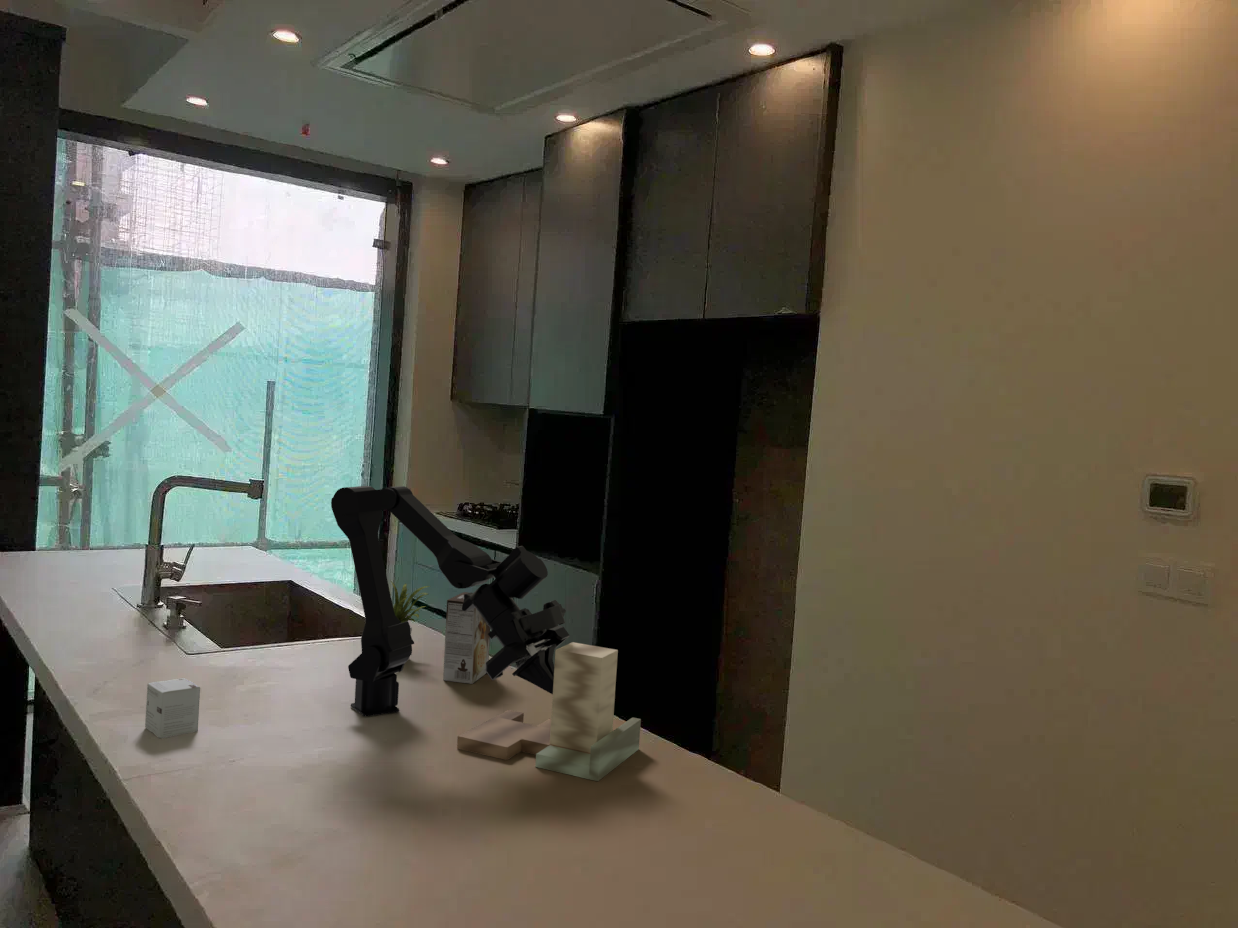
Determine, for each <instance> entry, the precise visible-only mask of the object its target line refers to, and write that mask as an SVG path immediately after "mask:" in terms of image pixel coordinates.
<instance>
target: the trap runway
mask: <svg viewBox="0 0 1238 928" xmlns="http://www.w3.org/2000/svg"><path fill="white" fill-rule="evenodd" d="M524 713H525V712H521V711H517V710H511V709H507V710H506V711H503V712H502V713H500V714H497V715H495V716H493V717H492V718H490V719H488V720H486V721H484V722H482V723H479V724H478V725H476V726H475V727H473V728H471V729H469V730H467V731H464V732H462V733H460V734H459V735H458V736H457V744H456V749H457V750H460V751H465V752H471V753H474V754H475V753H476V754H479V755H483V756H488V757H492V758H497V759H500V760H501V759H502V760H504V761H508V760H509V759H511V758H513V757H515V756H516V755H518V754H520V752H523V753H526V754H532V755H535V764H534V765H535V766H534V767H536V768H539V769H544V770H547V771H548V770H549V771H552V772H557V773H559V774H560V773H561V774H564V775H569V776H574V777H577V778H582V779H587V780H591V781H595V782H600V780H602V779H603V778H604V777H606V776H607V775H608V774H609V773H611V772H612V771H613V770H614V769H616V768H617V767H618V766H619V765H621V764H622V763H623V762H625V761H626V760H627V759H628V758H630V757H631V756H632V755H633V754H635V753H636V752H637V751H639V750H640V740H641V724H642V719H641V718H637V717H631V718H629V719H628V720H627V721H625V722H624V723H622V724H620V726H618V727H616V728H615V729H614V730H613V731H612V732H611V733H609V734H608V735H606V736H605V737H603V738H602V739H601V740H599V741H598V742H596V743H595V744H593V745H592V746H591V753H588V752H584V751H579V750H575V749H570V748H566V747H561V746H557V745H552V744H550V731H551V718H548V719H546V720H544V721H543V722H541V723H538V724H537V725H536V724H533V723H532V724H531V723H526V722H524V719H525V718H524V715H525V714H524Z"/></svg>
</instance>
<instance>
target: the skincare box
mask: <svg viewBox="0 0 1238 928" xmlns="http://www.w3.org/2000/svg"><path fill="white" fill-rule="evenodd" d="M200 699H201V687H200V686H199V685H197V684H196V683H195V682H193V681H191V680H189V679H187V678H185V677H181V678H174V679H168V680H160V681H152V682H148V683H147V685H146V702H145V703H146V705H145V718H144V720H145V723H144V728H145V729H147V730H148V731H149V732H151V733H152V734H153V735H155V736H156V737H157V739H165V738H166V739H167V738H170V737H176V736H179V735H186V734H191V733H195V732H198V731H199V718H200Z"/></svg>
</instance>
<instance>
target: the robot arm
mask: <svg viewBox="0 0 1238 928" xmlns="http://www.w3.org/2000/svg"><path fill="white" fill-rule="evenodd" d="M330 505H331V506H330V507H331V510H332V511H331V512H332V513H333V516H334V519H335V522H336V524H337V526H338V528H339V529H340V530H341V531H342V533H343V534H344V535H345V536H346V538H347V539H348V541H349V546H350V550H351V554H352V560H353V565H354V570H355V575H356V579H357V584H358V585H357V586H358V589H359V594H360V600H361V603H362V609H363V613H364V618H365V623H364V627H363V631H362V633H361V637H360V643H361V644H360V646H361V653H360V654H359V655H358V656H357V657H356V658H354V660H352V662H350V664H349V665H348V666H347V669H348V672H349V677H350V678H351V679H354V680H355V689H354V690H355V691H354V702H353V703H350V708H352V709H353V710H354V711H356V712H357V713H359V715H360V716H363V717H370V716H371V717H373V716H379V715H386V714H393V713H398V712H400V708H399V707H398V704H399V691H400V687H399V686H400V682H398V679H397V678H398V675H397V673H400V672H403V669H404V666H405V664H406V663H407V662H408V661H409V659H410V657H411V656H412V655H413V654H412V653H413V645H415V641H414V640H413V638H412V632H411V633H410V627H411V625H410V622H409V620H408V621H407V622H403V623H401V622H400V620H399V619H398V618H397V617H396V616H395V613H394V610H393V607H394V604H393V605H392V603H393V600H391V599H392V594H391V592H390V586H389V583H388V577H387V576H388V575H387V573H386V567H385V563H384V558H383V557H384V556H383V553H382V548H381V543H380V539H379V530H380V527H381V523H382V520H383V511H384V510H385V511H386V510H387V511H389V512H390V513H391V514H392V515H393V516H394V517H395V518H396V519H397V520H398V521H399V522H400V523H401V524H402V525H403V526H404V527H405V528H406V529H408V531H410V532H409V533H411V534H412V535H414V536H415V537H416V539H417V540H418V541H420V543H421V544H423V545H424V547H426V548H427V549H428V551H429V552H431V553H432V554H433V556H434V557H435V559H436V561H437V565H438V569H439V571H441V573H442V574H443V576H444V577H445V578H446V580H447V582H448V583H449V584H450V585H451V586H453V588H456V589H468V588H471V587H475V586H479V585H480V586H479V587H478V588H477V589H476V590H474V592H472V591H471V592H468V593H467V594H464V602H463V605H462V610H463V611H467V610H470V609H473V608H476V609H477V610H478V612H479V613H480V615H481V616H482V617H483V619H484V620H485V622H486V623H487V624H488V626H489V627H490V633H488V635H489V636H490V640H493V639H495V638H497V640H498V641H499V644H501V646H502V647H501V649H500V650H498V651H497V652H496V653H495V654H494V655H493V656H491V658H489V660H488V661H487V662H486V669H485V671H486V674H487V675H488V677H489V678H490V679H491V681H494V680H496V679H499V678H501V677H502V676H503V675H504V672H505V670H506V669H507V668H508V667H510V665H513V664H515V665H514V666H515V667H516V669H515V670H514V671H513V673H511V674H512V676H513V677H518V678H520V679H523V680H524V681H526V682H529V683H531V684H532V685H535V686H536V687H538V688H540V689H541V690H543V691H545V692H547V693H549V694H551V695H552V696H553V683H554V667H555V662H554V655H555V651H556V649H558V648H559V646H561V645H562V643H564V642H565V641H566V640H568V638H570V636H571V635H570V634H569V632H568V631H567V630H566V628H565V627H564V626H562V625H564V624H566V621H565V618H564V616H565V614H566V612H567V611H566V608H564V607H563V605H562V604H561V603H560V602H558V601H557V599H554V600H550V601H548V602H545V603H543V607H542V610H540V611H537V612H534V613H532V611H530V609H528V608H525V607H524V608H522V609H521V608H520V606H518V604H517V602H516V601H515V600H514V598H515V599H519V600H522V599H524V598H525V597H526V596H527V595H529V593H530V592H532V590H534V589H535V588H536V587H537V586H538V585H540V584H541V582H543V581H544V580H545V579H546V578H547V577H548V573H549V572H548V569H547V567H546V564H545V562H544V561H543V560H542V559H541V558H539V557H538V556H537V555H535V554H534V553H532V552H531V551H529V550H527V549H526V548H525V547H524V546H523V545H520V546H515V547H514V548H513V549H512V550H511V552H510V553H509V555H508V556H507V557H505V559H503V560H502V561H501V560H497V559H494V558H492V557H491V555H489V553H487V552H486V551H485V550H483V549H481V548H480V547H478V546H476V545H475V544H474V543H472V542H469V541H467V540H465V539H462V538H460V537H458V536H457V535H456V534H454V532H452V531H451V530H450V529H449V528H448V527H447V526H446V525H445V524H444V523H443V522H442V521H441V520H440V519H439V518H438V517H437V516H436V515H434V513H433V512H432V511H430V509H429V508H427V506H425V505H424V504H423V503H422V502H421V501H420V500H419V499H418V498H417V496H415V495H414V494H413V491H412V490H411V489H410V488H409V487H407V486H404V485H398V486H397V485H396V486H388V487H385V488H381V489H375V488H374V487H373V486H370V485H359V486H346V487H345V486H344V487H341V488H339V489H337V490H336V491H335V493H334V495H333V496H332V498H331V501H330ZM490 579H494V580H493V581H491V582H490V583H486V582H488V581H489V580H490ZM390 594H391V595H390ZM559 625H560V626H559Z"/></svg>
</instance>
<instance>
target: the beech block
mask: <svg viewBox="0 0 1238 928" xmlns="http://www.w3.org/2000/svg"><path fill="white" fill-rule="evenodd" d="M618 653H619V650H618V649H615V648H610V647H609V648H608V647H603V646H598V645H591V644H585V643H581V642H574V641H572V642H570V643H568V644H567V643H566V644H565V645H563V646H561V647H557V648H556V649H555V650H554V683H553V695H552V702H551V718H550V719H551V731H550V744H552V745H557V746H561V747H566V748H570V749H575V750H579V751H584V752H588V753H591V746H592V745H593V744H595V743H596V742H598V741H599V740H601V739H602V738H603V737H605V736H606V735H608V734H609V733H611V732H612V731H614V730H613V728H614V717H615V715H614V713H615V701H616V700H615V699H616V684H617V683H616V682H617V669H618Z"/></svg>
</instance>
